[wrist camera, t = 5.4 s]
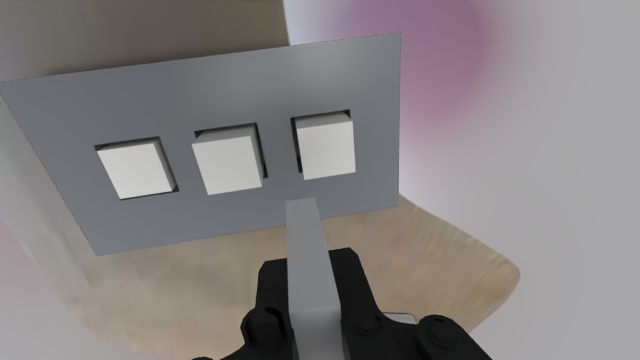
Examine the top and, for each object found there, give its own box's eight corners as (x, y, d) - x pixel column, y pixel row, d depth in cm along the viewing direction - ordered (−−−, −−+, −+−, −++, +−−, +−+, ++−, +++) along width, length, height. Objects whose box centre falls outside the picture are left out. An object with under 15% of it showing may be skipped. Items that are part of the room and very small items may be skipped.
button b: (205, 129, 25) (191, 144, 21) (254, 122, 25) (250, 135, 21) (218, 173, 27) (208, 195, 23) (264, 167, 27) (261, 186, 23)
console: (46, 76, 24) (-7, 82, 20) (380, 34, 26) (400, 32, 22) (124, 228, 32) (98, 258, 27) (382, 187, 33) (398, 208, 29)
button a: (123, 136, 26) (96, 151, 22) (171, 129, 26) (153, 143, 23) (142, 178, 28) (120, 199, 24) (186, 171, 28) (171, 190, 24)
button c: (294, 116, 25) (296, 129, 22) (341, 110, 26) (352, 121, 22) (301, 161, 27) (304, 180, 23) (345, 154, 28) (355, 172, 24)
